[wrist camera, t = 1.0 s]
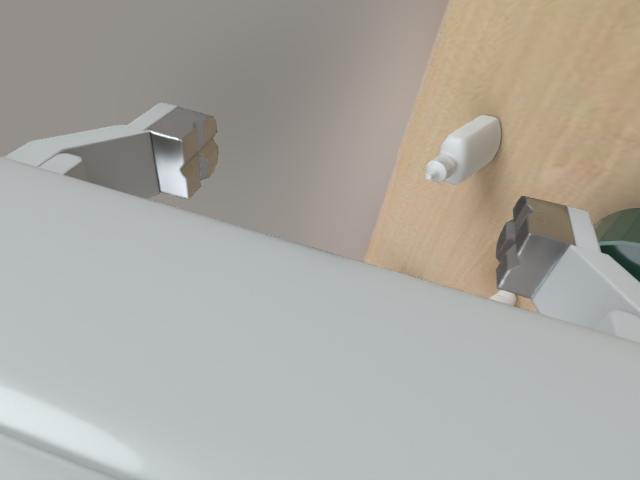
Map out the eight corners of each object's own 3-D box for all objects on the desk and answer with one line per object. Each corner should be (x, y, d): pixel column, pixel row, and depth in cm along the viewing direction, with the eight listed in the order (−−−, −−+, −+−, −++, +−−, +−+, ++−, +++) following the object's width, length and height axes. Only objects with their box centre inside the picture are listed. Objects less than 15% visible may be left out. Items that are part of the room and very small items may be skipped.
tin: (677, 189, 39) (655, 222, 35) (747, 290, 39) (733, 335, 35) (565, 230, 48) (538, 260, 44) (621, 312, 48) (599, 350, 44)
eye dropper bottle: (460, 142, 53) (400, 179, 46) (487, 107, 48) (426, 142, 42) (486, 167, 52) (429, 208, 45) (517, 133, 47) (459, 173, 40)
